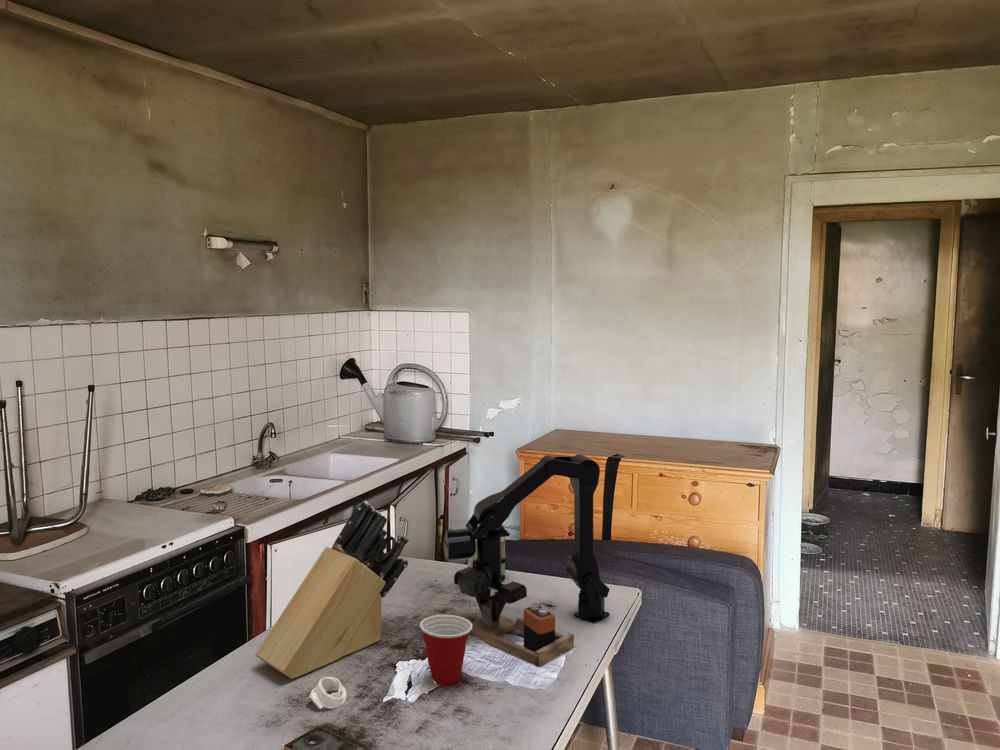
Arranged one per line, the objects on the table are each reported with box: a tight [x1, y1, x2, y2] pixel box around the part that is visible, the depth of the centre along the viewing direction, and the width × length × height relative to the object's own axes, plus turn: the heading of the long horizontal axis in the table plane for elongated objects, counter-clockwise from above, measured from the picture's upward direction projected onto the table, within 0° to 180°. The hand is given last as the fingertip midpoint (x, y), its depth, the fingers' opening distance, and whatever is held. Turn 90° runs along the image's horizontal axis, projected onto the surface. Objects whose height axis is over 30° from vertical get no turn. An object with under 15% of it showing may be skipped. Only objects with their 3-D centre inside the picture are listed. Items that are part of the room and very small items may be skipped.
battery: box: [523, 603, 556, 652], centre depth 167 cm, size 4×7×10 cm, turn 30°
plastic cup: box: [419, 614, 472, 687], centre depth 156 cm, size 11×11×12 cm
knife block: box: [254, 500, 410, 680], centre depth 169 cm, size 11×35×31 cm, turn 138°
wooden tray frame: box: [469, 601, 575, 668], centre depth 172 cm, size 12×24×6 cm, turn 46°
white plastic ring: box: [306, 676, 347, 710], centre depth 148 cm, size 8×7×5 cm
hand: (490, 619), depth 178 cm, fingers open, 3 cm apart
